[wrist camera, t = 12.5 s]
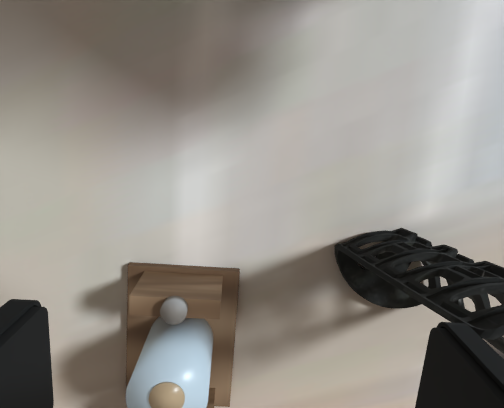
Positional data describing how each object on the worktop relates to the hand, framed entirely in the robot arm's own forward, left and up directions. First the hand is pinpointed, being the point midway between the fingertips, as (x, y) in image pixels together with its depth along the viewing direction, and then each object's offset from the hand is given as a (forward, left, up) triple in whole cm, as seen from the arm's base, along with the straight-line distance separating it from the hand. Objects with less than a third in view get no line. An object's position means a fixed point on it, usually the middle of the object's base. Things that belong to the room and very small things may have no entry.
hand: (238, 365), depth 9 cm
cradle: (+14, -4, -26) cm, 30 cm away
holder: (+5, +15, -26) cm, 30 cm away
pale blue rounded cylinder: (+14, -4, -25) cm, 29 cm away
